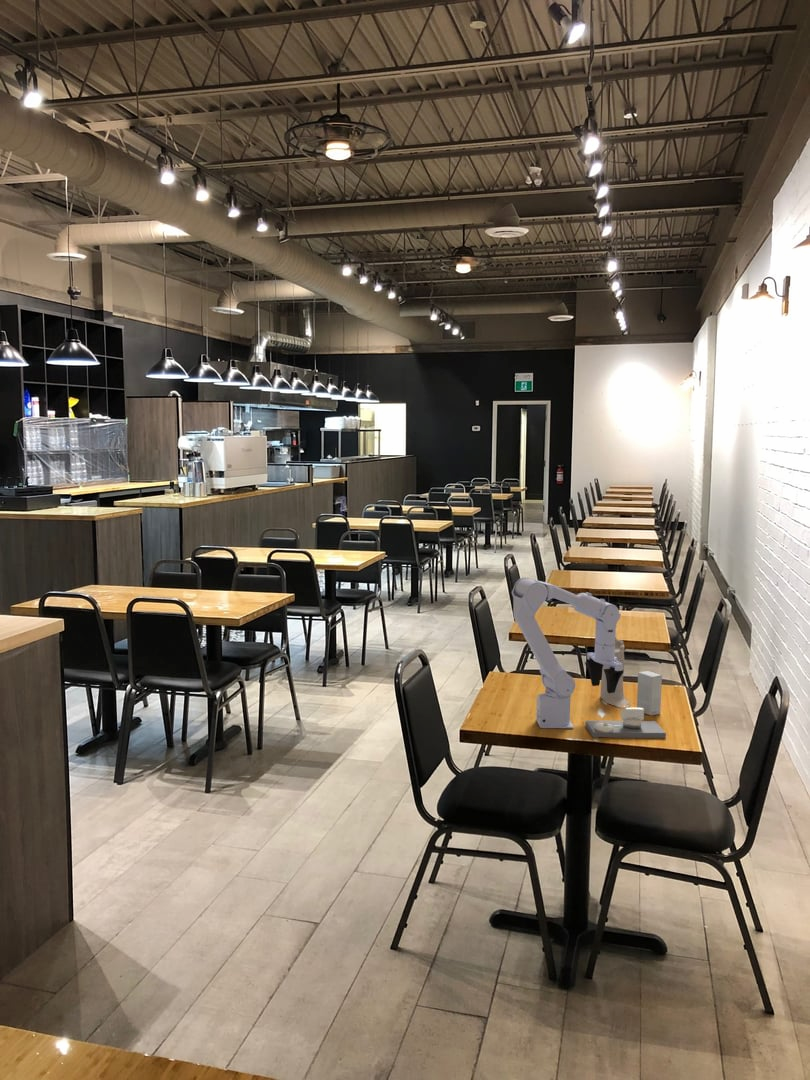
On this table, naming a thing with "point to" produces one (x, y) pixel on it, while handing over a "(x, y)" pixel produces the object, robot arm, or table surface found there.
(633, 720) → the knob
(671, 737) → the table surface
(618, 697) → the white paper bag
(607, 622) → the robot arm
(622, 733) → the base
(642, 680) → the skincare box
